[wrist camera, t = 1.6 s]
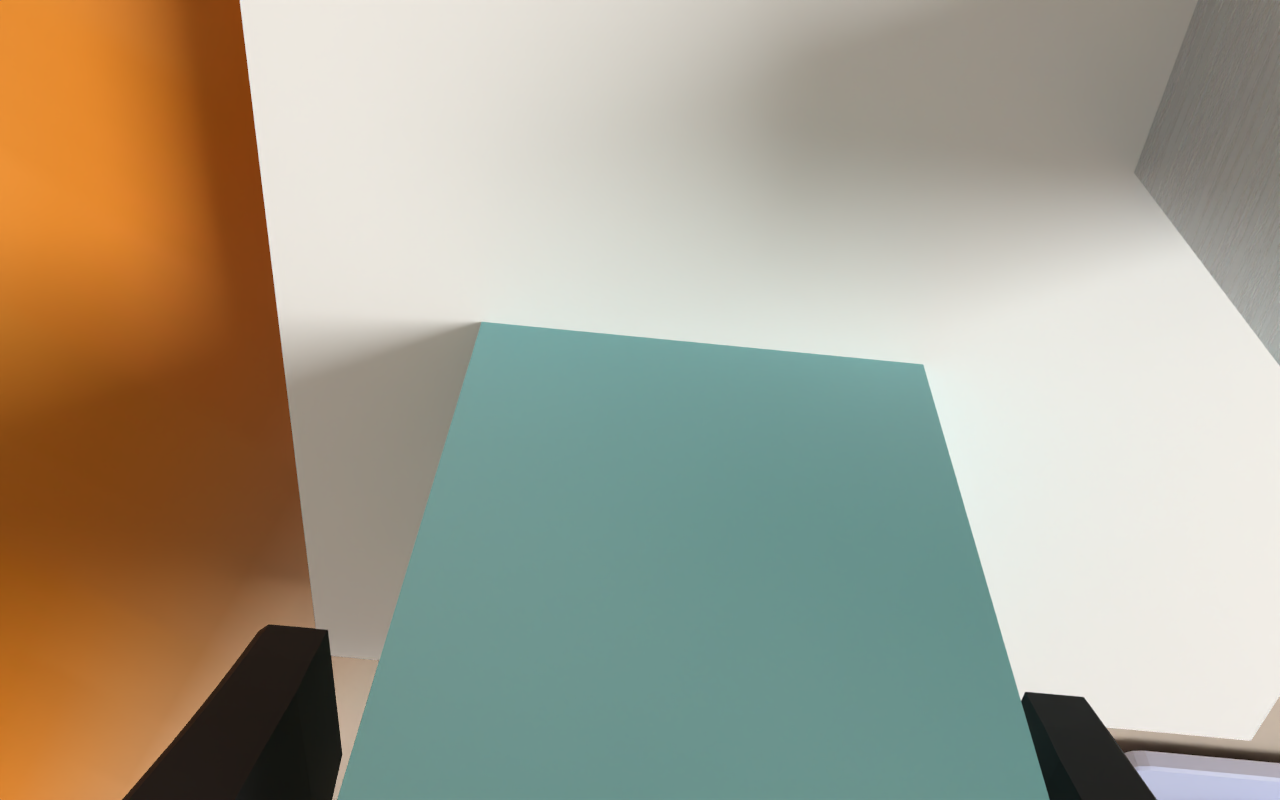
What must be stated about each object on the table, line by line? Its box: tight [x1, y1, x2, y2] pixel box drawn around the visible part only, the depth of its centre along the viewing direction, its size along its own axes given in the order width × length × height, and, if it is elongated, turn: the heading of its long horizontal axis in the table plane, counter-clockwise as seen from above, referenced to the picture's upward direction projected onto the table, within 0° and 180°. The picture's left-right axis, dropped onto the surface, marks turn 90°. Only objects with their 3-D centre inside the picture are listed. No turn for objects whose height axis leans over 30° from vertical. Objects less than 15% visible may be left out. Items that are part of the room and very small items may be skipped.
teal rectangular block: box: [337, 322, 1050, 800], centre depth 12 cm, size 5×5×7 cm
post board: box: [240, 0, 1280, 741], centre depth 11 cm, size 20×14×2 cm
